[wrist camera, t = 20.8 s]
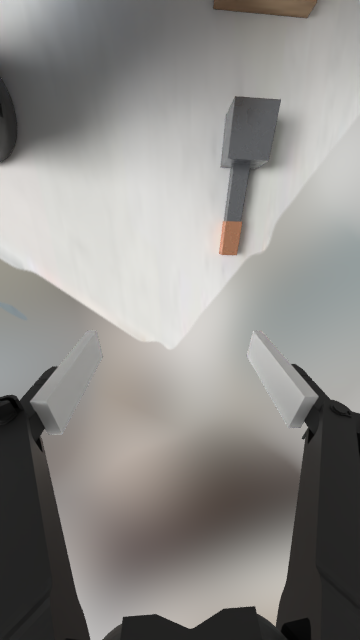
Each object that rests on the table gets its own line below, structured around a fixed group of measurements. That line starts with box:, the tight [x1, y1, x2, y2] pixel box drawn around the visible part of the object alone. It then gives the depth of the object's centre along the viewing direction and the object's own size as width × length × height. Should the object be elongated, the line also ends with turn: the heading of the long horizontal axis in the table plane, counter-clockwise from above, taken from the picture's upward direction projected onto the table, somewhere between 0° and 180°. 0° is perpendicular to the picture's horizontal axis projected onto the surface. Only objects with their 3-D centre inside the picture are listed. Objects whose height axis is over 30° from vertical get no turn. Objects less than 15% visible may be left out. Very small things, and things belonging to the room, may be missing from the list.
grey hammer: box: [219, 96, 281, 255], centre depth 34 cm, size 22×7×5 cm, turn 178°
